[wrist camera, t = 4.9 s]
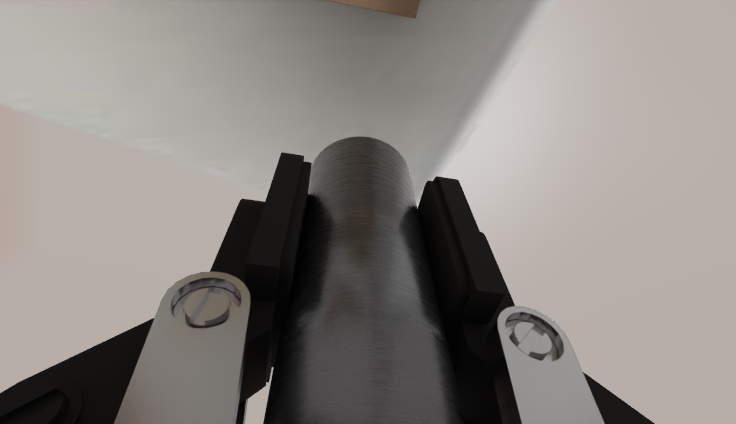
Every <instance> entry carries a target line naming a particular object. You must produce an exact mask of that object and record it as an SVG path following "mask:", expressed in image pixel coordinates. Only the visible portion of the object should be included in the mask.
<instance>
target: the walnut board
mask: <svg viewBox="0 0 736 424" xmlns="http://www.w3.org/2000/svg"><path fill="white" fill-rule="evenodd" d="M329 1H334V2H339V3H344V4H349V5H353V6H358V7H363V8H368V9H373V10H377V11H382V12H387V13H392V14H397V15H401V16H406V17H411V18H416V14H417V10H418V5H419V1H420V0H329Z"/></svg>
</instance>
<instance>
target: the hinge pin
mask: <svg viewBox="0 0 736 424" xmlns="http://www.w3.org/2000/svg"><path fill="white" fill-rule="evenodd" d="M263 424H465V420H464V416H463V411H462V407H461V402H460V398H459V393H458V389H457V384H456V380H455V375H454V371H453V367H452V362H451V358H450V353H449V349H448V344H447V340H446V335H445V331H444V326H443V322H442V317H441V313H440V308H439V304H438V299H437V295H436V290H435V286H434V281H433V277H432V272H431V268H430V263H429V259H428V254H427V250H426V246H425V241H424V237H423V232H422V228H421V223H420V219H419V214H418V210H417V205H416V201H415V196H414V192H413V187H412V183H411V178H410V174H409V170H408V167H407V164H406V162H405V160H404V159H403V157H402V156H401V155H400V153H399V152H398V151H397V150H395V149H394V148H393V147H392V146H390V145H389V144H387V143H385V142H383V141H380V140H378V139H374V138H370V137H350V138H345V139H342V140H339V141H337V142H334V143H333V144H331V145H329V146H328V147H326V148H325V149H324V150H323V151H322V152H321V153H320V154H319V155H318V156H317V158H316V159H315V161H314V162H313V164H312V167H311V172H310V180H309V189H308V196H307V202H306V207H305V213H304V219H303V224H302V230H301V236H300V241H299V247H298V253H297V258H296V264H295V270H294V275H293V281H292V287H291V292H290V298H289V304H288V309H287V313H286V314H285V317H284V319H283V321H282V326H281V331H280V336H279V342H278V347H277V353H276V358H275V363H274V369H273V374H272V380H271V386H270V391H269V396H268V401H267V407H266V412H265V418H264V423H263Z"/></svg>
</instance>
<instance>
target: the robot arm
mask: <svg viewBox="0 0 736 424" xmlns="http://www.w3.org/2000/svg"><path fill="white" fill-rule="evenodd" d="M303 161H304V156H301V155H295V154H289V153H281V156H280V159H279V162H278V165H277V168H276V171H275V174H274V177H273V180H272V183H271V186H270V189H269V192H268V196H267V198H266V202H262V201H255V200H247V199H241V200H240V202H239V204H238V207H237V209H236V211H235V214H234V216H233V218H232V221H231V223H230V226H229V228H228V230H227V232H226V235H225V237H224V240H223V242H222V244H221V247H220V249H219V251H218V254H217V256H216V259H215V261H214V263H213V266H212V268H211V270H210V272H201V273H197V274H194V275H190V276H187V277H185V278H183V279H181V280H180V281H178V282H176V283H175V284H174V285H173V286H172V287H170V288H169V289H168V290H167V292H166V294H165V295H164V297H163V298H162V300H161V303H160V305H159V308H158V311H157V313H156V316H155V318H153V319H151V320H149V321H147V322H144V323H143V324H140V325H138V326H136V327H134V328H132V329H130V330H128V331H126V332H124V333H121V334H119V335H117V336H115V337H113V338H111V339H109V340H107V341H105V342H102V343H100V344H98V345H96V346H94V347H92V348H90V349H88V350H86V351H84V352H82V353H79V354H78V355H75V356H73V357H71V358H69V359H67V360H65V361H63V362H61V363H58V364H56V365H54V366H52V367H50V368H48V369H46V370H44V371H42V372H40V373H38V374H35V375H33V376H31V377H29V378H27V379H25V380H23V381H21V382H19V383H17V384H15V385H14V386H12V387H10V388H8V389H7V390H5V391H3V392H2V393H0V424H245V418H246V410H247V402H248V398H250V397H251V396H252V395H254V394H255V393H256V392H258V391H259V390H261V389H262V388H263V387H265V386H266V382H269V379H270V373H271V368H272V367H274V363H275V358H276V353H277V347H278V342H279V336H280V331H281V326H282V321H283V319H284V317H285V314H286V313H287V309H288V304H289V298H290V292H291V287H292V281H293V275H294V270H295V264H296V258H297V253H298V247H299V241H300V236H301V230H302V224H303V219H304V213H305V207H306V202H307V196H308V189H309V180H310V172H311V163H309V162H303ZM417 210H418V214H419V219H420V223H421V228H422V232H423V237H424V241H425V246H426V250H427V254H428V259H429V263H430V268H431V272H432V277H433V281H434V286H435V290H436V295H437V299H438V304H439V308H440V313H441V317H442V322H443V326H444V331H445V335H446V340H447V344H448V349H449V353H450V358H451V362H452V367H453V371H454V375H455V380H456V384H457V389H458V393H459V398H460V402H461V407H462V411H463V416H464V420H465V424H654V423H653V422H652V421H650V420H649V419H647V418H646V417H644V416H643V415H642V414H640V413H639V412H638V411H636V410H635V409H634V408H632V407H631V406H629V405H628V404H627V403H625V402H624V401H622V400H621V399H619V398H618V397H617V396H616V395H614V394H613V393H611V392H610V391H609V390H607V389H606V388H604V387H603V386H602V385H600V384H599V383H597V382H596V381H594V380H593V379H592V378H591V377H589V376H588V375H586V374H585V373H584V372H583V371H582V369H581V367H580V364H579V362H578V360H577V357H576V355H575V353H574V350H573V348H572V345H571V343H570V341H569V339H568V338H567V336H566V334H565V333H564V331H563V330H562V329H561V328H560V327H559V326H558V325H557V324H556V323H555V322H554V321H552V320H551V319H550V318H549V317H547V316H546V315H544V314H542V313H540V312H538V311H536V310H534V309H530V308H527V307H520V306H515V305H514V303H513V300H512V298H511V295H510V293H509V291H508V288H507V286H506V283H505V281H504V279H503V276H502V274H501V272H500V269H499V267H498V265H497V262H496V260H495V258H494V255H493V253H492V251H491V248H490V246H489V243H488V241H487V239H486V237H485V235H484V234H483V233H482V232H480V231H479V229H478V227H477V224H476V221H475V219H474V217H473V214H472V212H471V209H470V207H469V204H468V202H467V200H466V197H465V195H464V192H463V190H462V187H461V185H460V183H459V181H458V180H456V179H449V178H443V177H435V179H434V180H433V181H427V183H426V185H425V187H424V191H423V194H422V197H421V200H420V203H419V206H418V209H417Z"/></svg>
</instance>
